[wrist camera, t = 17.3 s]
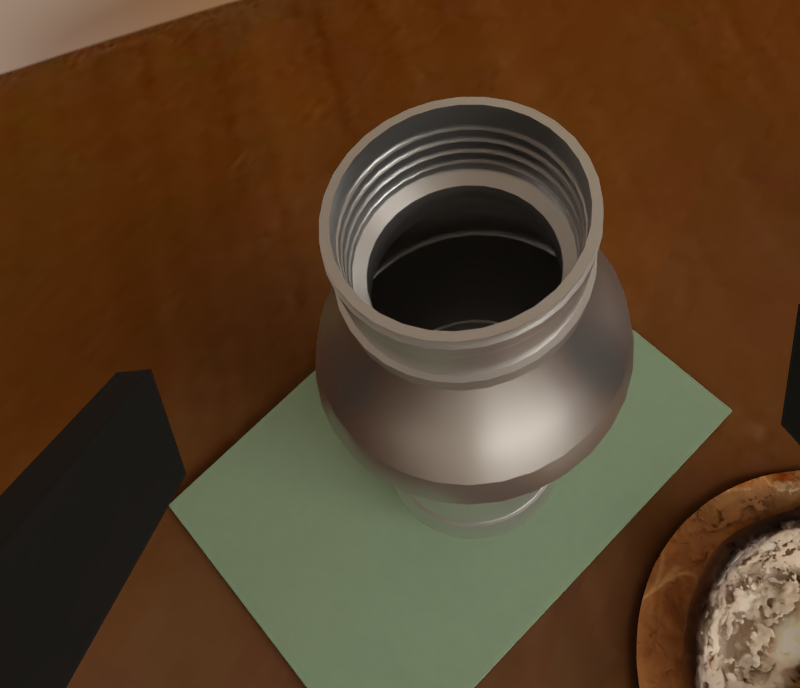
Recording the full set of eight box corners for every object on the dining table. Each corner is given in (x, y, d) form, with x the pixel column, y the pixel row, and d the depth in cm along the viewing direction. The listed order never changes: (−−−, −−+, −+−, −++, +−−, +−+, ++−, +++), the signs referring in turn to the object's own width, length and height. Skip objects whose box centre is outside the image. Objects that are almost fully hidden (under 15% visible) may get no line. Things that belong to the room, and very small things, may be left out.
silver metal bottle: (368, 441, 28) (126, 176, 9) (497, 357, 28) (522, -59, 9) (451, 574, 25) (360, 594, 7) (588, 481, 26) (861, 255, 7)
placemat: (171, 505, 28) (167, 505, 28) (487, 214, 31) (487, 210, 31) (383, 783, 24) (381, 786, 23) (729, 412, 27) (733, 410, 26)
